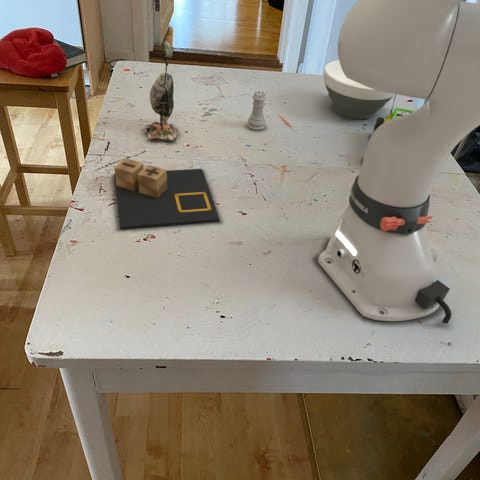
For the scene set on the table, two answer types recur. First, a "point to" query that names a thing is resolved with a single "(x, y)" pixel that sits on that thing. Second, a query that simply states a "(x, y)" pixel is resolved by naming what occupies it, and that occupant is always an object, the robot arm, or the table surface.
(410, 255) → the robot arm
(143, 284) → the table surface
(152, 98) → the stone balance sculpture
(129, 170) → the plus minus wooden blocks
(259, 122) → the rook chess piece
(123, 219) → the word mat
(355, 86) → the bowl
